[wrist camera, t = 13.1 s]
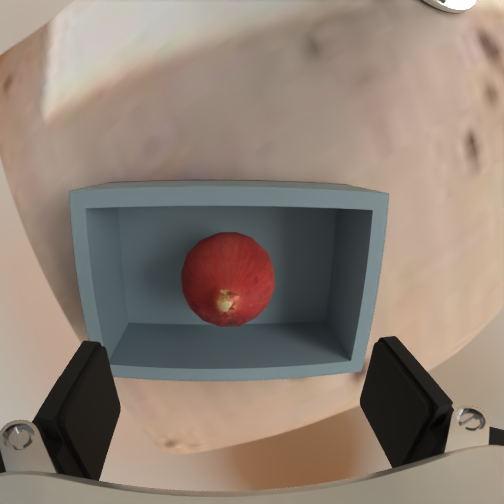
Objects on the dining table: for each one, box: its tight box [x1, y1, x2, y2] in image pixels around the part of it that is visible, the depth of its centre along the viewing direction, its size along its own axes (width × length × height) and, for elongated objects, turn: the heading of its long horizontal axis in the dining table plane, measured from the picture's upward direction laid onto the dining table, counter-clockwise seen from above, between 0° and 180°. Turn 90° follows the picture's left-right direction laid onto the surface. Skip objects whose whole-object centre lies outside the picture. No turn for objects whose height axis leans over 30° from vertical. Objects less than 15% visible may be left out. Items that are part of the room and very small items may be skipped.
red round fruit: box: [181, 232, 275, 327], centre depth 20 cm, size 6×6×8 cm
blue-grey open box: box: [69, 180, 389, 381], centre depth 21 cm, size 12×18×7 cm, turn 89°
